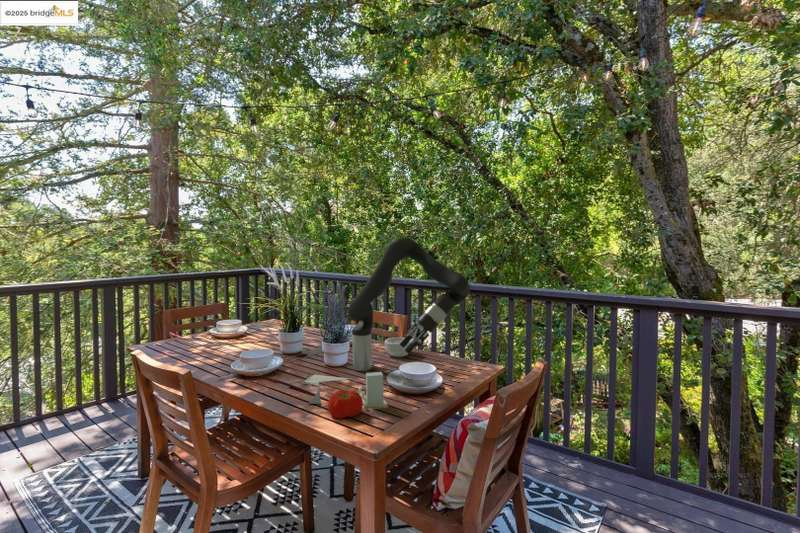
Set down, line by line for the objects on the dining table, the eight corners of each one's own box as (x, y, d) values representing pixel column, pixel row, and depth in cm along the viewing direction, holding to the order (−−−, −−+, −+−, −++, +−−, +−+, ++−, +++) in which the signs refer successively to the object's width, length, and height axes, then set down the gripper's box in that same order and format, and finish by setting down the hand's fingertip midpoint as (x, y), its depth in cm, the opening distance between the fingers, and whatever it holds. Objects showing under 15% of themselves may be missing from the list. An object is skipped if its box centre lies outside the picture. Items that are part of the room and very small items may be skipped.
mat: (318, 392, 175) (318, 391, 175) (336, 393, 174) (336, 391, 174) (308, 404, 163) (308, 403, 163) (328, 405, 162) (328, 403, 162)
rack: (358, 394, 173) (358, 388, 172) (379, 392, 175) (379, 386, 174) (364, 412, 155) (364, 406, 155) (388, 410, 157) (388, 403, 157)
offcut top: (364, 389, 171) (364, 386, 171) (372, 388, 172) (372, 384, 172) (369, 393, 166) (369, 390, 166) (377, 392, 168) (377, 388, 168)
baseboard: (366, 395, 173) (376, 384, 185) (365, 388, 173) (376, 378, 185) (300, 387, 183) (314, 377, 194) (300, 380, 182) (314, 371, 194)
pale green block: (366, 403, 161) (365, 373, 160) (381, 401, 162) (381, 371, 161) (367, 407, 157) (367, 376, 156) (383, 405, 159) (383, 374, 158)
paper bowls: (400, 348, 237) (400, 335, 237) (418, 354, 226) (418, 340, 225) (379, 354, 228) (378, 339, 227) (397, 360, 216) (396, 345, 215)
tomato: (318, 418, 151) (317, 394, 150) (341, 405, 161) (341, 383, 161) (347, 428, 143) (346, 403, 143) (370, 414, 154) (369, 391, 153)
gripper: (420, 308, 168) (393, 338, 167) (431, 314, 154) (401, 347, 153) (433, 320, 170) (406, 350, 168) (444, 327, 156) (415, 360, 154)
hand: (403, 348), depth 161 cm, fingers open, 8 cm apart
